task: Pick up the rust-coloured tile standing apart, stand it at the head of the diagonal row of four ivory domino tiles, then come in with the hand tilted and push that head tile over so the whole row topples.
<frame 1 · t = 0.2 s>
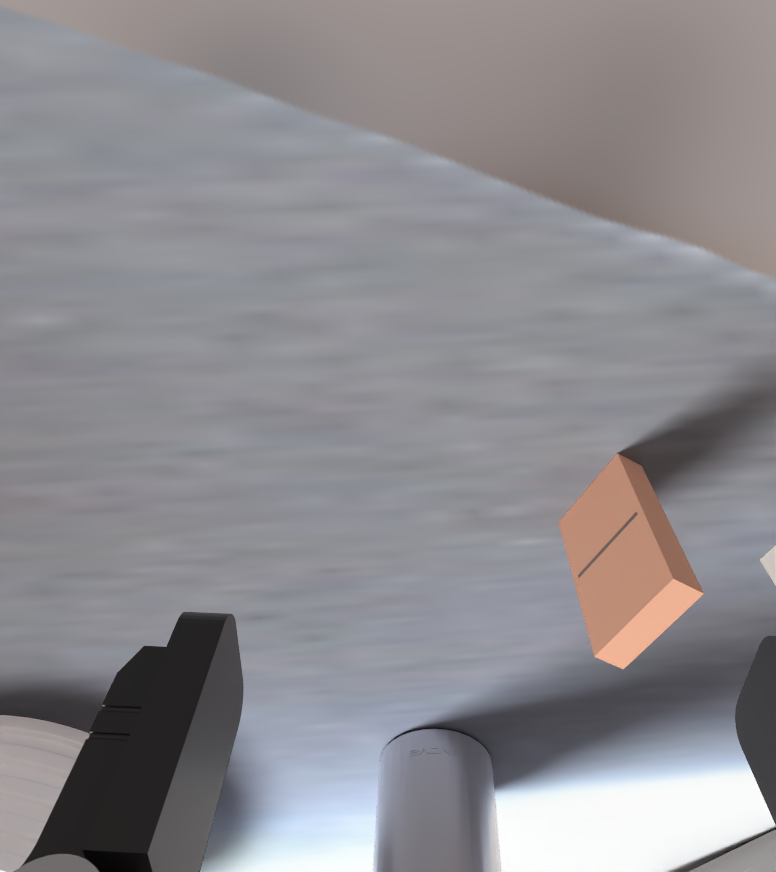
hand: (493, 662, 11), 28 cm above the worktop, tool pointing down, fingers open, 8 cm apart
rust tile: (598, 494, 43), on the worktop
plate stack: (44, 811, 65), on the worktop
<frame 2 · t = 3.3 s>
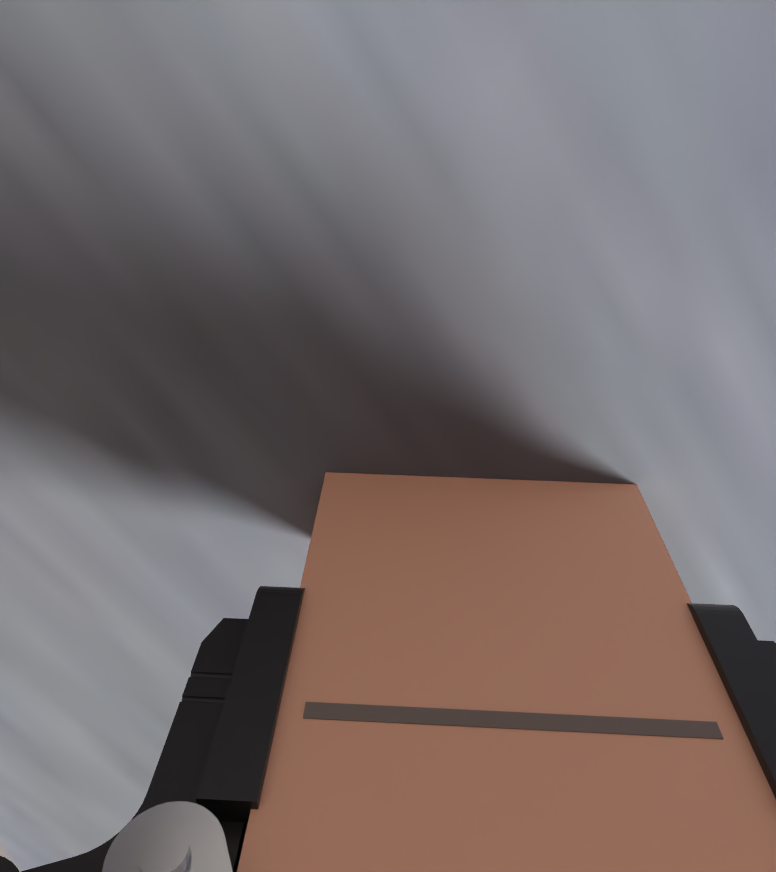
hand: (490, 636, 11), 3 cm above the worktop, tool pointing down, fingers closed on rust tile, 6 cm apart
rust tile: (476, 515, 14), on the worktop, touching gripper
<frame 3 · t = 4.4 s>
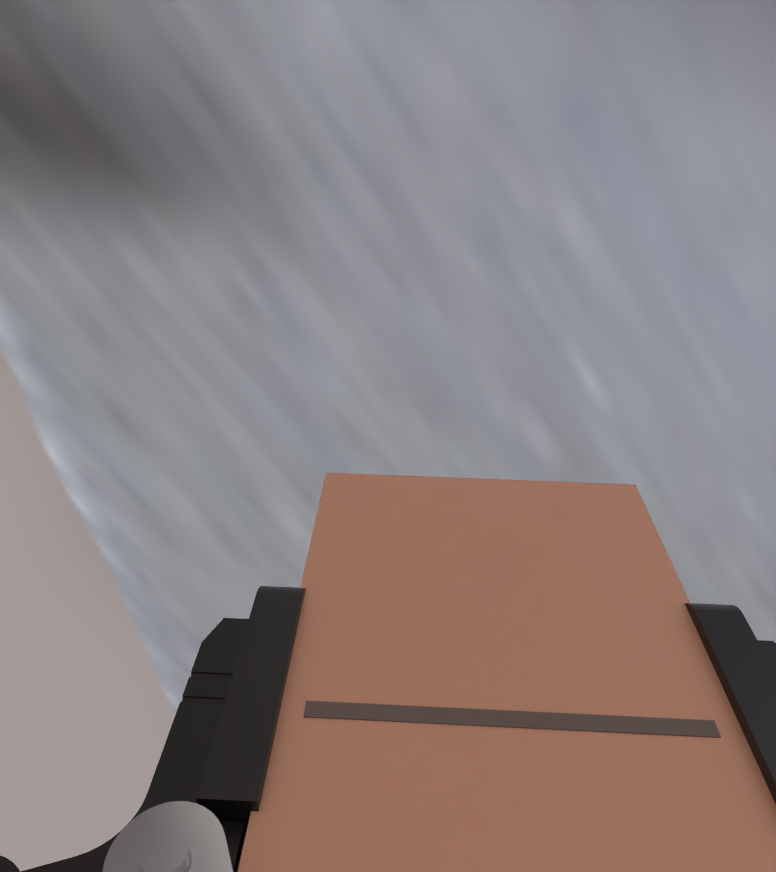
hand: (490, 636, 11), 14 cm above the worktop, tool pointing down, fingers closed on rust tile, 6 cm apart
rust tile: (475, 516, 14), point 11 cm above the worktop, touching gripper
when the fingers open (4 cm above the worktop, at t = 8.4 s): rust tile stays where it is, on the worktop.
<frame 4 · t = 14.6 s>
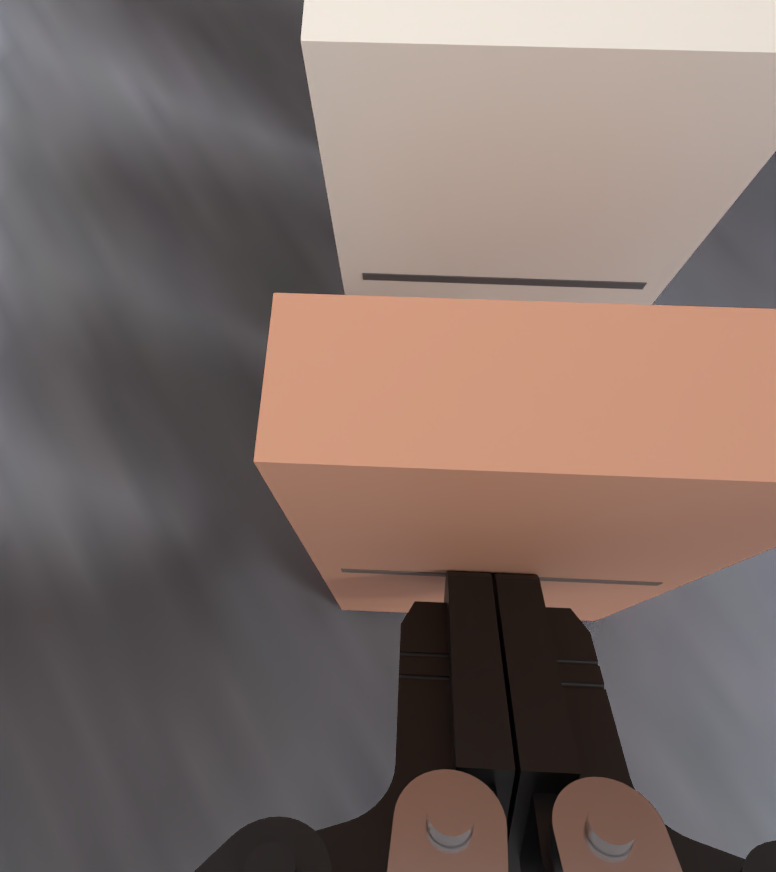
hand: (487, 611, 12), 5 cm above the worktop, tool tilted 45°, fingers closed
rust tile: (468, 577, 17), on the worktop, tilted 6°
ivory tile 1: (473, 345, 19), on the worktop
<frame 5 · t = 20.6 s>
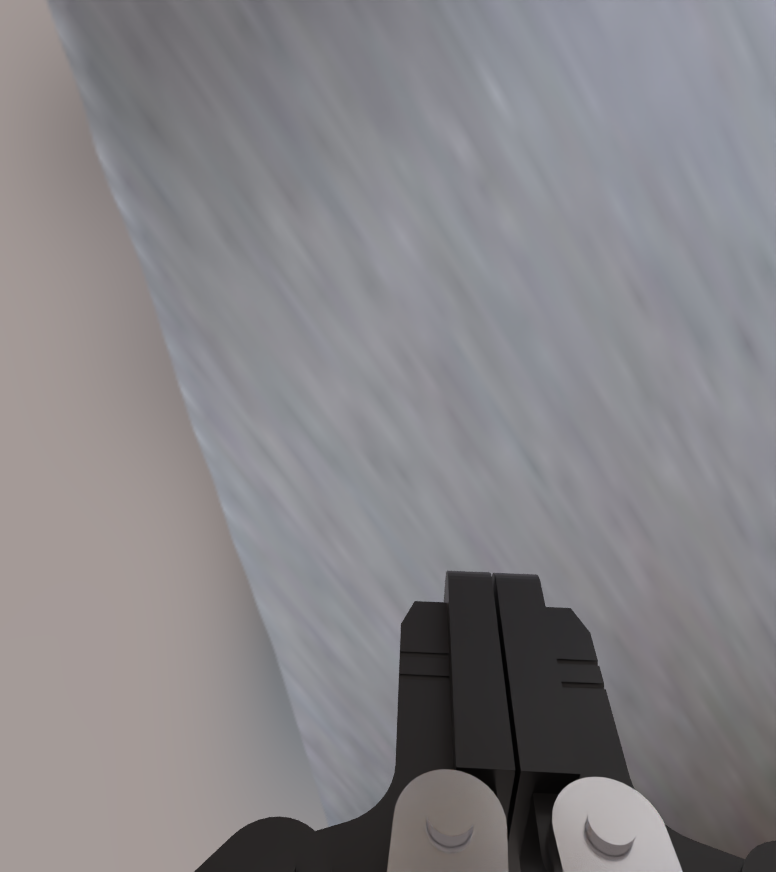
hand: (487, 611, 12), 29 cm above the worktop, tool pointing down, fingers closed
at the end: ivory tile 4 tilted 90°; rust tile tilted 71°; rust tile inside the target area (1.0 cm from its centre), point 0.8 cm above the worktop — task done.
